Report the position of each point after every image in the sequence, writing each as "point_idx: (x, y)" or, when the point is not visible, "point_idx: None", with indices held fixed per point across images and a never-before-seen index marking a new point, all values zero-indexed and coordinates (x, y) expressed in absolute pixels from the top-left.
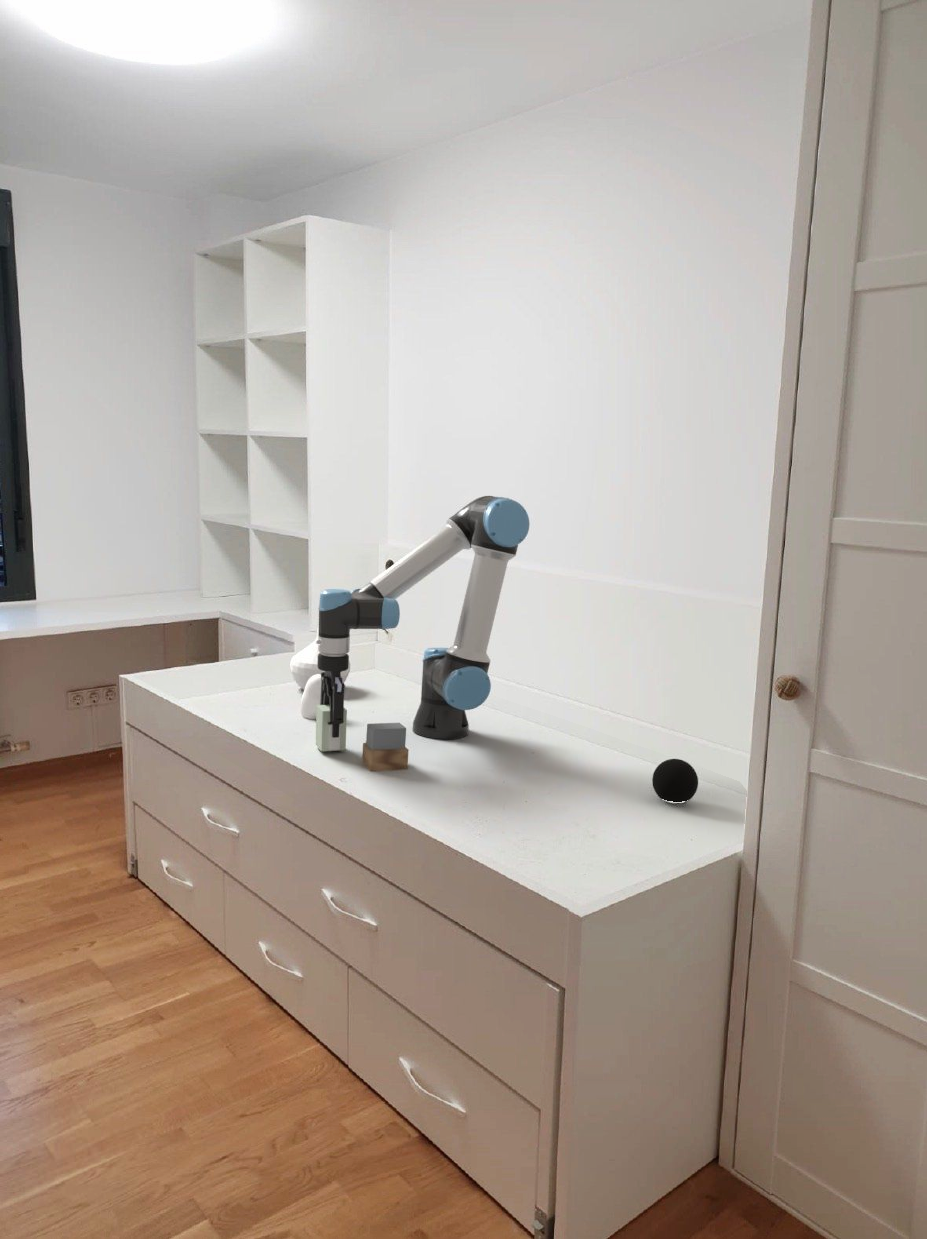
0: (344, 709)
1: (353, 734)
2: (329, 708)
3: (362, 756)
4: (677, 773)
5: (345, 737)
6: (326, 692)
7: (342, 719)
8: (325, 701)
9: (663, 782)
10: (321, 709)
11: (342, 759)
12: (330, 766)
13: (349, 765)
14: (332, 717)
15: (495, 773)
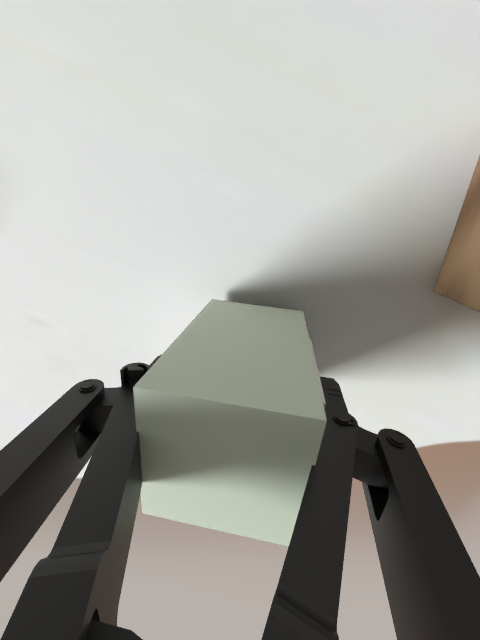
0: (298, 427)
1: (69, 179)
2: (237, 492)
3: (450, 297)
4: None
5: (307, 332)
6: (116, 610)
7: (416, 460)
8: (135, 503)
9: None
10: (247, 534)
11: (364, 342)
12: (419, 404)
13: (442, 346)
14: (367, 503)
15: None
